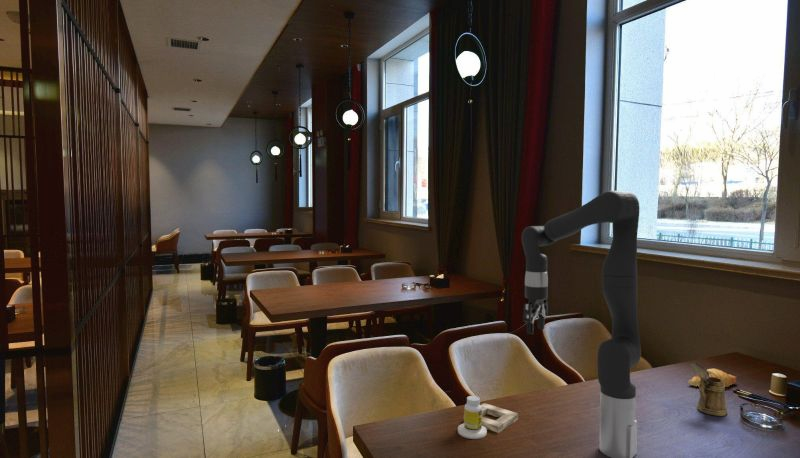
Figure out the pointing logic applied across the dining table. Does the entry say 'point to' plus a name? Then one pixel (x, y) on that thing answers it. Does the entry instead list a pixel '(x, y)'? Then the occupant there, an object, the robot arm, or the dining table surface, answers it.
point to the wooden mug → (710, 393)
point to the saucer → (472, 435)
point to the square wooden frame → (501, 422)
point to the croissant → (716, 373)
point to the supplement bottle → (473, 414)
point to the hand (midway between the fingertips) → (535, 331)
